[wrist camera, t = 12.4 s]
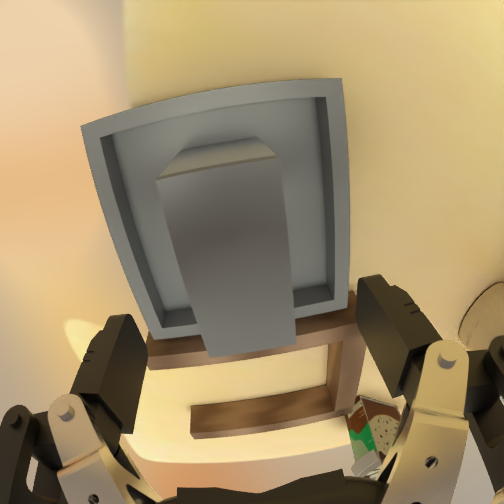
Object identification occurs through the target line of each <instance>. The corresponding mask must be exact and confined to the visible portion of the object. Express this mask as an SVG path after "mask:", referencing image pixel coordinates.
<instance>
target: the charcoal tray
mask: <svg viewBox="0 0 504 504" xmlns="http://www.w3.org/2000/svg"><path fill="white" fill-rule="evenodd" d="M81 131H82V136H83V139H84V144H85V149H86V153H87V157H88V161H89V164H90V169H91V172H92V176H93V180H94V183H95V187H96V190H97V194H98V197H99V200H100V204H101V207H102V210H103V213H104V216H105V219H106V222H107V226H108V229H109V232H110V234H111V237H112V240H113V243H114V246H115V249H116V251H117V254H118V257H119V259H120V262H121V265H122V267H123V270H124V273H125V275H126V277H127V280H128V282H129V285H130V288H131V290H132V292H133V295H134V297H135V299H136V302H137V304H138V306H139V309H140V311H141V313H142V316H143V318H144V320H145V322H146V324H147V327H148V329H149V331H150V333H151V335H152V337H153V339H154V340H158V339H167V338H175V337H184V336H192V335H199V334H201V333H200V330H199V327H198V324H197V321H196V319H195V316H194V313H193V310H192V307H191V304H190V300H189V297H188V294H187V291H186V288H185V285H184V282H183V278H182V275H181V272H180V269H179V265H178V262H177V259H176V255H175V252H174V248H173V245H172V241H171V238H170V234H169V231H168V227H167V223H166V220H165V216H164V212H163V208H162V205H161V201H160V197H159V193H158V189H157V185H156V181H155V180H156V179H157V178H158V177H159V175H160V174H161V173H162V172H163V171H164V169H165V168H166V167H167V166H168V165H169V164H170V162H171V161H172V160H173V159H174V158H175V157H176V155H177V154H178V153H179V152H180V151H181V150H186V149H190V148H195V147H200V146H205V145H211V144H216V143H222V142H228V141H234V140H240V139H246V138H253V137H258V138H259V139H260V140H261V141H262V142H263V143H264V144H265V145H266V146H267V147H268V148H270V149H271V150H272V151H273V152H274V153H275V154H276V155H277V156H278V157H279V158H280V167H281V175H282V184H283V193H284V202H285V211H286V221H287V231H288V241H289V252H290V263H291V275H292V287H293V300H294V313H295V319H297V318H302V317H307V316H312V315H316V314H321V313H326V312H331V311H335V310H340V309H344V308H347V304H348V286H349V262H350V183H349V159H348V142H347V128H346V116H345V105H344V96H343V87H342V79H341V78H326V79H302V80H287V81H275V82H265V83H256V84H248V85H241V86H234V87H227V88H221V89H215V90H209V91H204V92H199V93H194V94H189V95H184V96H180V97H175V98H171V99H167V100H163V101H159V102H155V103H151V104H147V105H144V106H140V107H136V108H133V109H130V110H126V111H123V112H120V113H117V114H113V115H111V116H107V117H104V118H101V119H98V120H96V121H93V122H90V123H87V124H85V125H82V126H81Z"/></svg>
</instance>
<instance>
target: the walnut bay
mask: <svg viewBox="0 0 504 504" xmlns="http://www.w3.org/2000/svg"><path fill="white" fill-rule="evenodd" d="M356 300H357V296H356V295H355V293H354V291H353V292H348V304H347V308H344V309H340V310H335V311H331V312H326V313H321V314H316V315H312V316H307V317H302V318H297V319H295V327H296V343H297V344H293V345H288V346H282V347H277V348H272V349H266V350H260V351H254V352H248V353H242V354H235V355H228V356H221V357H213V358H209V355H208V353H207V350H206V347H205V344H204V342H203V339H202V336H201V334H199V335H192V336H184V337H175V338H167V339H158V340H154V339H153V337H152V335H151V333H150V331H149V332H148V336H147V340H146V346H147V350H148V362H147V366H148V368H149V370H162V369H174V368H184V367H194V366H203V365H211V364H219V363H226V362H233V361H240V360H247V359H253V358H259V357H265V356H271V355H276V354H282V353H287V352H292V351H297V350H302V349H307V348H311V347H316V346H321V345H325V344H329V348H328V366H327V381H326V385H323V386H319V387H315V388H310V389H306V390H301V391H296V392H291V393H286V394H281V395H275V396H269V397H263V398H257V399H250V400H243V401H236V402H228V403H219V404H210V405H199V406H191V422H190V434H191V435H192V437H193V438H194V439H207V438H219V437H230V436H239V435H247V434H254V433H261V432H268V431H274V430H280V429H285V428H291V427H296V426H301V425H305V424H310V423H314V422H319V421H323V420H327V419H331V418H335V417H339V416H342V415H346V414H350V413H352V411H353V407H354V403H355V399H356V394H357V390H358V385H359V381H360V376H361V371H362V366H363V361H364V355H365V350H366V343H365V341H364V339H363V337H362V335H361V333H360V331H359V329H358V326H357V322H356V315H355V312H356Z"/></svg>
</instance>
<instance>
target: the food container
mask: <svg viewBox="0 0 504 504" xmlns="http://www.w3.org/2000/svg"><path fill="white" fill-rule="evenodd" d="M345 418H346V422H347V427H348V431H349V435H350V440H351V444H352V449H353V453H354V458H355V463H354V464H353V466H352V468H351V470H352V471H353V473H354V475H355V477H364V478H369V479H373V480H375V479H376V477H377V474H378V472H379V470H380V468H381V466H382V464H383V462H384V460H385V458H386V456H387V454H388V451H389V449H390V446H391V444H392V441H393V438H394V435H395V433H396V430H397V427H398V424H399V421H400V418H401V414H400V412H399V411H398V409H397V407H396V406H395V405H392V404H388V403H384V402H381V401H377V400H374V399H371V398H367V397H364V396H361V395H359V396H358V397H356V399H355V403H354V407H353V411H352V413H350V414H346V415H345Z"/></svg>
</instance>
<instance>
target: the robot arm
mask: <svg viewBox="0 0 504 504" xmlns="http://www.w3.org/2000/svg"><path fill="white" fill-rule="evenodd" d="M355 315H356V322H357V326H358V329H359V331H360V333H361V335H362V337H363V339H364V341H365V343H366V345H367V347H368V349H369V351H370V353H371V355H372V357H373V359H374V361H375V363H376V365H377V367H378V369H379V371H380V373H381V375H382V377H383V379H384V382H385V384H386V386H387V388H388V390H389V392H390V394H391V396H392V398H395V397H398V396H401V395H404V397H405V399H406V403H405V405H404V408H403V412H402V415H401V418H400V421H399V424H398V427H397V430H396V433H395V435H394V438H393V441H392V444H391V446H390V449H389V451H388V454H387V456H386V458H385V460H384V462H383V464H382V466H381V468H380V470H379V472H378V474H377V477H376V479H375V480H373V479H369V478H364V477H354V476H344V474H343V470H342V469H339V470H336V471H332V472H327V473H323V474H318V475H314V476H309V477H304V478H300V479H298V480H295V481H293V482H290V483H288V484H285V485H283V486H280V487H277V488H275V489H272V490H269V491H266V492H263V493H248V492H240V491H233V490H228V489H222V488H216V487H212V488H179V487H178V488H177V496H174V497H171V498H167V499H164V500H163V499H162V498H161V497H160V496H159V495H158V494H157V493H156V492H155V491H154V490H153V489H152V488H151V487H150V486H149V484H148V483H147V482H146V481H145V479H144V478H143V476H142V475H141V473H140V472H139V470H138V469H137V467H136V466H135V464H134V462H133V461H132V459H131V458H130V456H129V454H128V453H127V451H126V449H125V448H124V446H123V444H122V443H121V442H120V435H121V433H123V434H133V430H134V425H135V419H136V414H137V409H138V404H139V399H140V394H141V389H142V384H143V380H144V375H145V371H146V366H147V362H148V350H147V346H146V344H145V342H144V340H143V338H142V336H141V334H140V332H139V329H138V327H137V325H136V323H135V321H134V319H133V317H132V316H131V315H130V314H122V315H113V316H110V317H109V318H108V320H107V322H106V324H105V327H104V329H103V330H100V331H99V332H98V333H97V334H96V336H95V337H94V338H93V339H92V340H91V342H90V344H89V346H88V349H87V353H85V356H84V358H83V362H82V363H81V365H80V368H79V370H78V373H77V375H76V378H75V381H74V383H73V386H72V388H71V391H70V393H69V394H66V395H62V396H60V397H59V398H57V399H56V400H55V401H54V402H53V403H52V404H51V406H50V408H49V411H46V412H42V413H37V414H32V413H31V412H30V411H29V410H28V409H27V408H26V407H25V406H23V405H16V406H14V407H12V408H10V409H9V410H8V411H7V413H6V414H5V416H4V418H3V420H2V423H1V426H0V504H450V503H451V499H452V496H453V493H454V489H455V486H456V483H457V479H458V476H459V472H460V468H461V464H462V460H463V454H464V450H465V446H466V440H467V435H468V429H469V428H470V430H471V433H472V435H473V437H474V439H475V442H476V444H477V446H478V449H479V451H480V454H481V456H482V459H483V461H484V464H485V466H486V469H487V471H488V474H489V477H490V480H491V482H492V485H493V488H494V491H495V496H494V498H493V500H492V503H491V504H504V405H503V404H502V402H501V400H500V397H501V398H502V400H503V401H504V283H498V284H495V285H493V286H492V287H490V288H489V289H488V290H486V291H485V292H484V293H483V294H482V295H481V296H480V297H479V298H478V299H477V300H476V302H475V303H474V304H473V305H472V307H471V308H470V310H469V311H468V313H467V315H466V316H465V318H464V320H463V322H462V324H461V328H460V332H459V337H460V340H461V341H462V342H463V344H464V345H465V346H466V348H467V349H468V350H469V351H466V350H465V349H464V348H463V347H462V346H461V345H460V344H458V343H456V342H454V341H450V340H443V339H442V338H441V336H440V335H439V334H438V332H437V331H436V330H435V328H434V327H433V325H432V324H431V323H430V321H429V320H428V319H427V317H426V316H425V315H424V314H423V312H421V311H420V308H419V307H418V306H417V304H415V303H414V301H413V299H412V298H411V297H410V296H409V294H408V293H407V292H406V291H404V290H402V289H401V288H399V287H397V286H396V285H394V286H389V284H388V283H387V282H386V280H385V279H384V278H383V277H382V275H380V274H377V275H372V276H368V277H363V278H359V280H358V286H357V300H356V312H355ZM463 415H464V417H465V418H464V417H463ZM31 456H32V457H33V458H35V459H36V460H37V461H38V467H37V472H36V476H35V481H34V486H33V491H32V492H31V491H30V490H29V489H28V487H27V484H26V477H27V473H28V468H29V464H30V460H31Z"/></svg>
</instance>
